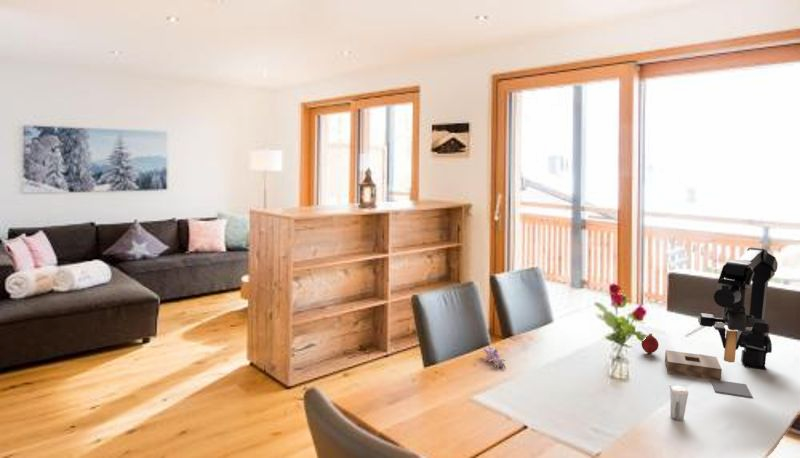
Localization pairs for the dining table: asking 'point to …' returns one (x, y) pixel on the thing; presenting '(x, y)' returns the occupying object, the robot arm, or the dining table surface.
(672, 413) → the milkshake
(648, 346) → the onion
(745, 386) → the mat
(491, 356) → the rabbit figure
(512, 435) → the dining table surface
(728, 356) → the peg
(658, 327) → the dining table surface
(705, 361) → the hole block
